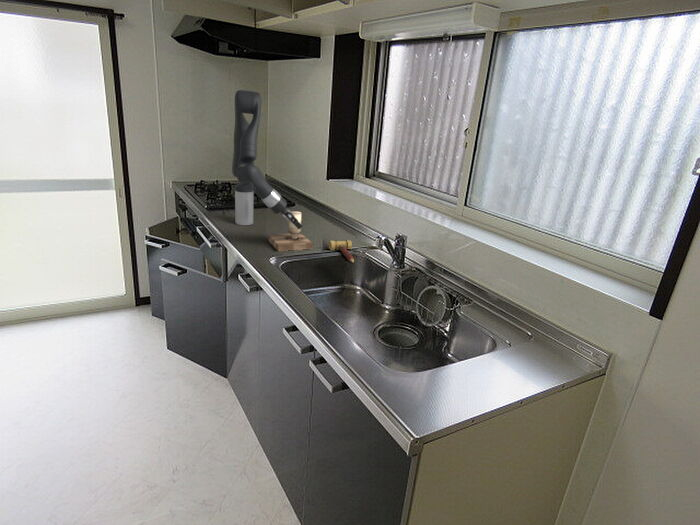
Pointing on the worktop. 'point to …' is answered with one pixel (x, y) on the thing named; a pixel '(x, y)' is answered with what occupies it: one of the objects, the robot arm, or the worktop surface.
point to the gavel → (342, 248)
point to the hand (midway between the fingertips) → (298, 225)
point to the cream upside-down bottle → (292, 228)
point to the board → (289, 242)
